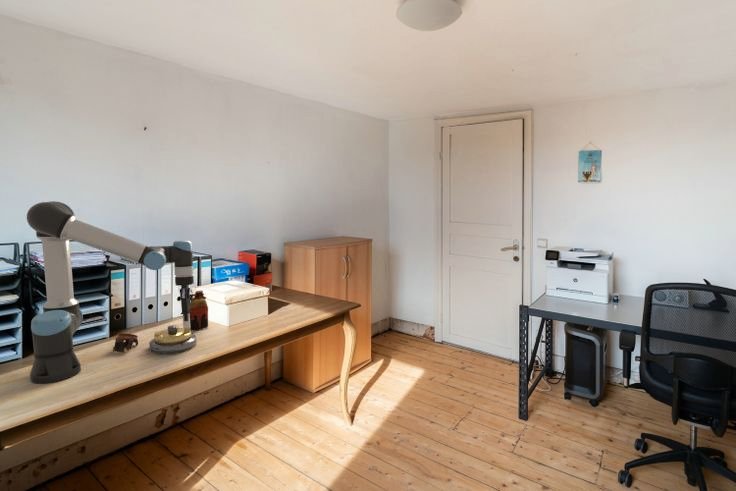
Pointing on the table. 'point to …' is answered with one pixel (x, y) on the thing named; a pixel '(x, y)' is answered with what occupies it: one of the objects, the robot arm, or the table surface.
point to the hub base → (172, 348)
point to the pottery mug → (122, 345)
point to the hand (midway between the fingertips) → (186, 327)
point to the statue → (198, 312)
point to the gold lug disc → (172, 337)
